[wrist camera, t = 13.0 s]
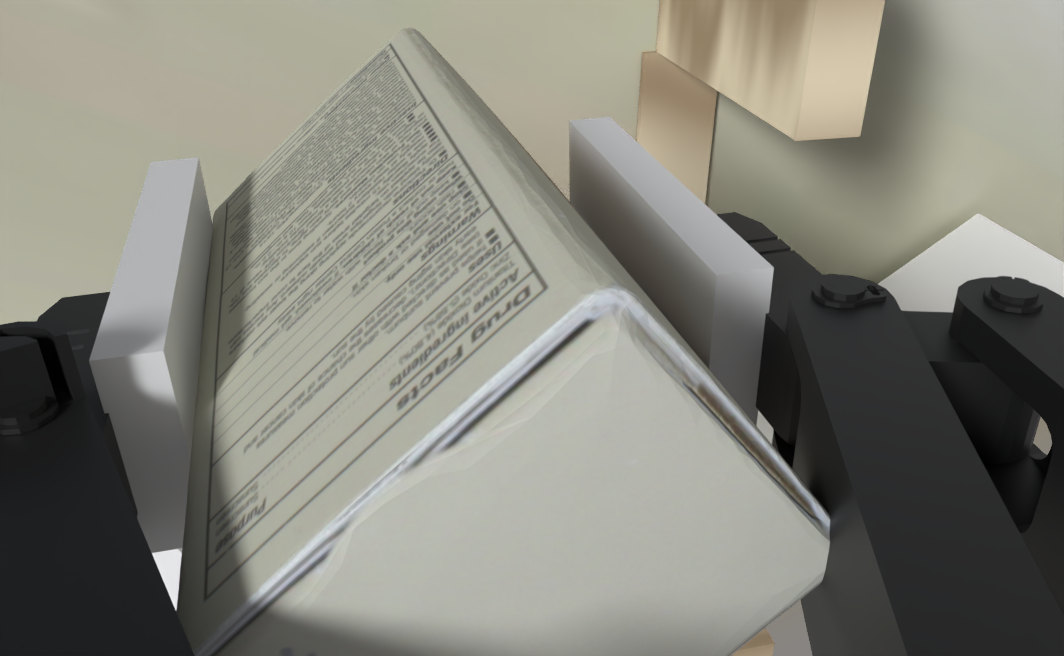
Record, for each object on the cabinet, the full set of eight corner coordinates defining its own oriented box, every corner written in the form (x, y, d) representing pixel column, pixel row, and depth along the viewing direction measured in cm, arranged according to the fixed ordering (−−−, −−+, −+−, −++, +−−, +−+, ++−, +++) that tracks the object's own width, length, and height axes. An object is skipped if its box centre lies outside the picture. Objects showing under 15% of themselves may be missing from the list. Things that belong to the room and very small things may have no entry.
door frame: (670, 513, 43) (770, 690, 34) (610, 522, 42) (697, 704, 34) (741, -160, 30) (931, -144, 21) (656, -161, 29) (817, -144, 21)
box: (372, 350, 19) (474, 874, 10) (203, 208, 17) (127, 709, 8) (567, 176, 18) (881, 565, 9) (417, 4, 16) (624, 283, 7)
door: (654, 488, 41) (722, 606, 35) (628, 456, 40) (693, 573, 34) (994, 251, 39) (1125, 333, 33) (977, 211, 38) (1110, 288, 32)
